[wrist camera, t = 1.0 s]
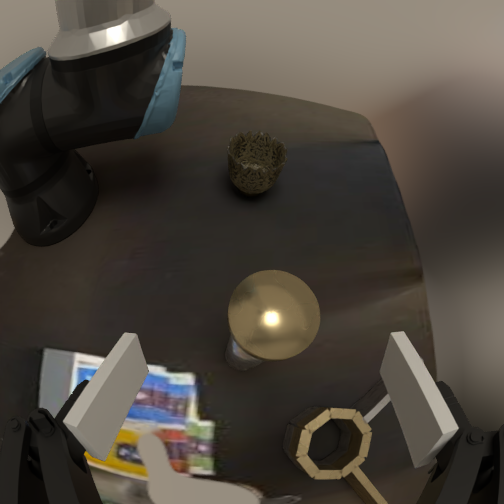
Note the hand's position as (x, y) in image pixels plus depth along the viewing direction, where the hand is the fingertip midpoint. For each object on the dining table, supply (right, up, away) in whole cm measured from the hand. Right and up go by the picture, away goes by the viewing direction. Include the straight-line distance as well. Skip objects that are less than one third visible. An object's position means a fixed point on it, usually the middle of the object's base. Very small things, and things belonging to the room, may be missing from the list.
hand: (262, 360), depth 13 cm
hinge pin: (-2, -5, +15) cm, 16 cm away
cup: (-1, +14, +26) cm, 29 cm away
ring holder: (+9, -15, +11) cm, 21 cm away
